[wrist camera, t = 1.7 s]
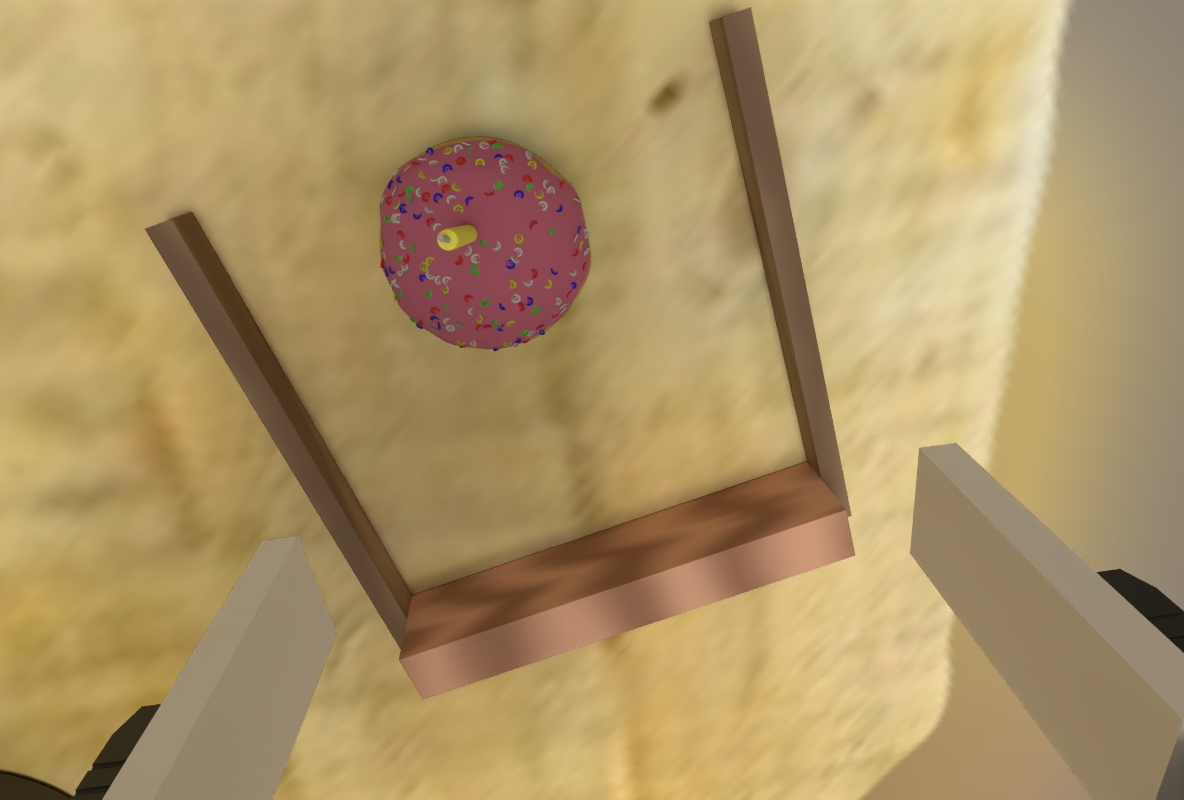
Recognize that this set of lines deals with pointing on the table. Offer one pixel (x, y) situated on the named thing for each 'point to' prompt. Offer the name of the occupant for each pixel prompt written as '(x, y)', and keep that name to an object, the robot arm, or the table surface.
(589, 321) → the table surface
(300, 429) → the brown wooden open frame
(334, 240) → the table surface
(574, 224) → the cupcake
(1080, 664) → the robot arm
